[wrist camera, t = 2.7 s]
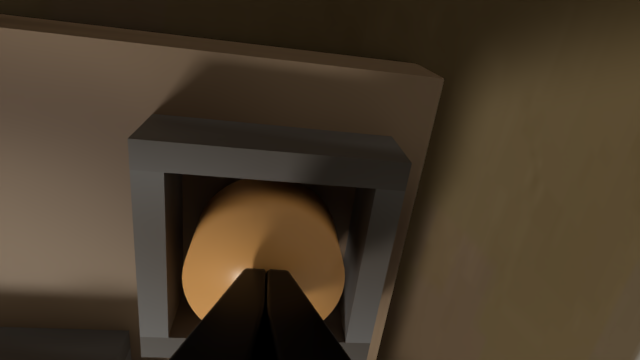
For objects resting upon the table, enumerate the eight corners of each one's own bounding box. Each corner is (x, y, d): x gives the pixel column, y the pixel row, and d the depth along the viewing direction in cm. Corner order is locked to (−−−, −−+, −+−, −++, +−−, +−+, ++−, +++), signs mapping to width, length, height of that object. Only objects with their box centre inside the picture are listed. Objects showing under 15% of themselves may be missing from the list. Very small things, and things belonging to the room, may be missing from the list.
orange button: (325, 295, 11) (333, 344, 9) (195, 290, 10) (182, 340, 9) (344, 181, 9) (356, 216, 8) (197, 169, 9) (181, 205, 7)
